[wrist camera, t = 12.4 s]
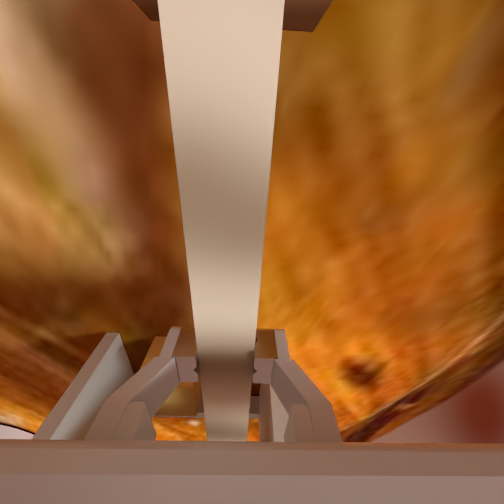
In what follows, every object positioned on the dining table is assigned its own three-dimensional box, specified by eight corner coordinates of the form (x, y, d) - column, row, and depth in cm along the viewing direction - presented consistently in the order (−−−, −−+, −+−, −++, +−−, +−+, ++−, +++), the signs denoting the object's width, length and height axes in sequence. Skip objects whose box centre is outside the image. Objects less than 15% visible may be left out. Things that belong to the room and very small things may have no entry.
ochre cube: (206, 366, 25) (196, 416, 21) (162, 365, 25) (143, 415, 21) (203, 337, 23) (192, 386, 18) (155, 335, 22) (132, 385, 18)
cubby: (267, 401, 29) (280, 607, 16) (133, 398, 28) (42, 609, 16) (277, 337, 22) (310, 590, 10) (107, 332, 22) (-78, 593, 10)
